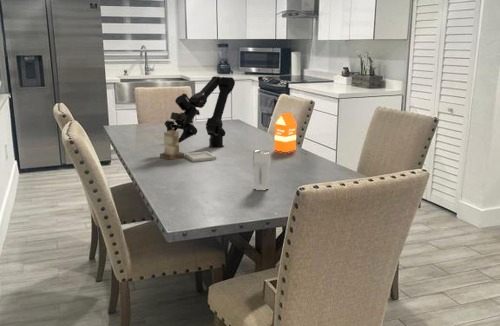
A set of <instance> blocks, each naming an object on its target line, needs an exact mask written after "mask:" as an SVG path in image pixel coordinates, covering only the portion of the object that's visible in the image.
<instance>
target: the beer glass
mask: <svg viewBox="0 0 500 326" xmlns="http://www.w3.org/2000/svg"><path fill="white" fill-rule="evenodd" d="M252 152H253V153H252V171H253V177H254V178H253V179H254V182H253V187H252V188H254V189H256V190H255V191H257V190H266V189H268V188H269V189H270V187H269V175H270V169H271V151H270V150H267V149H257V150H253V151H252ZM254 189H253V190H254ZM269 189H268V190H269ZM266 191H267V190H266Z"/></svg>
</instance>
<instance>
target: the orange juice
mask: <svg viewBox="0 0 500 326" xmlns="http://www.w3.org/2000/svg"><path fill="white" fill-rule="evenodd" d="M296 147H297V122H296V120H295V118H294V116H293V114H292V112H288V113H281V114H280V115H279V117H278V118H277V120H276V121H275V123H274V150H277V151H282V152H288V151H292V150H296ZM277 151H276V152H277ZM282 152H281V153H282ZM292 152H293V151H292ZM288 153H289V152H288Z"/></svg>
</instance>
